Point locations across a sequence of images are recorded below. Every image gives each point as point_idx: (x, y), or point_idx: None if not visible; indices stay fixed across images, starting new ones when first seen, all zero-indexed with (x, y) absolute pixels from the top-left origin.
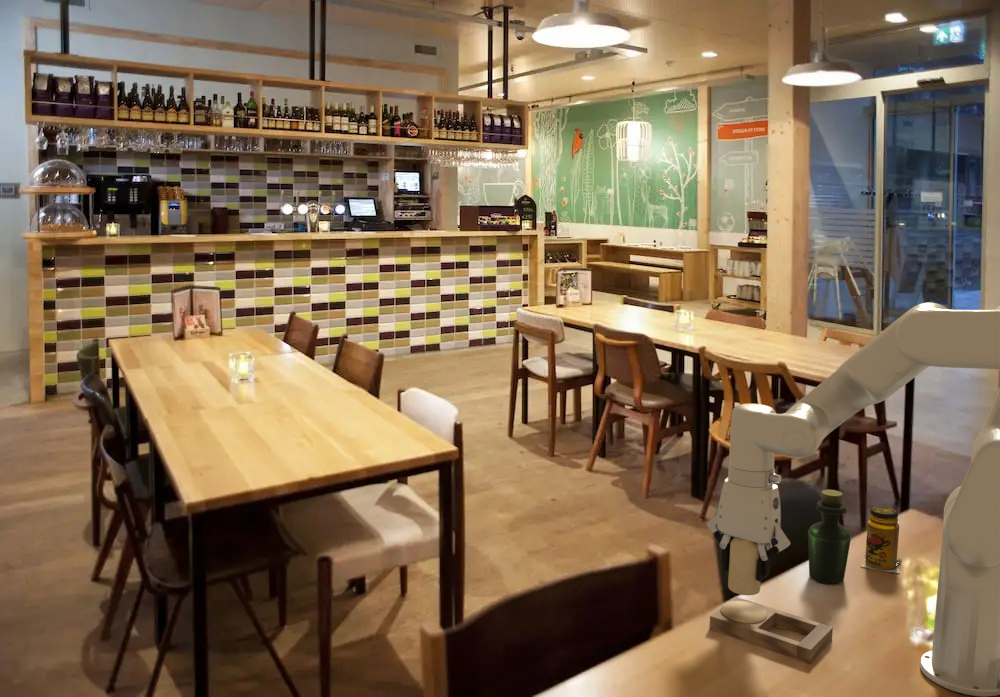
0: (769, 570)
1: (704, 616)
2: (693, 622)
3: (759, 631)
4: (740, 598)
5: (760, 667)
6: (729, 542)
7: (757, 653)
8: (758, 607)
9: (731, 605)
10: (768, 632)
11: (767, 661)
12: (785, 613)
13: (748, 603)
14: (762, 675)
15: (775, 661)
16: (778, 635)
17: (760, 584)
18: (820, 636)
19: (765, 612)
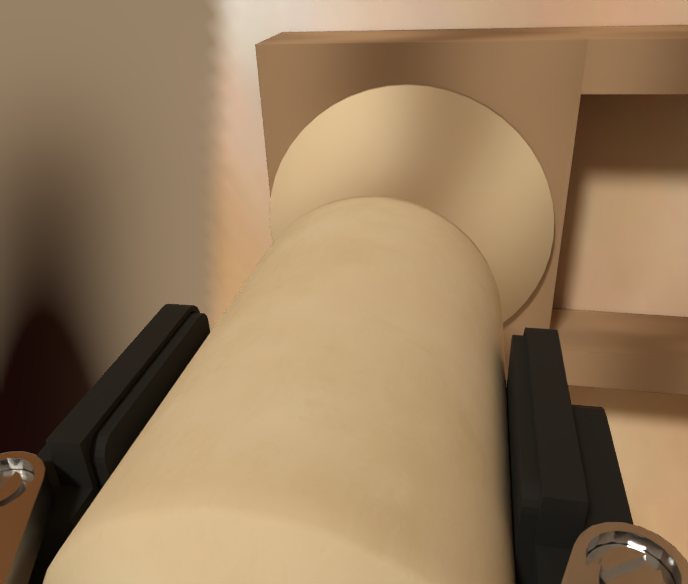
0: (606, 431)
1: (217, 223)
2: (219, 306)
3: (571, 377)
4: (295, 48)
5: (631, 484)
6: (43, 572)
7: (582, 397)
8: (460, 124)
9: (313, 207)
10: (619, 361)
11: (645, 433)
12: (653, 57)
13: (380, 110)
14: (656, 527)
15: (680, 417)
16: (682, 362)
17: (498, 307)
18: None
19: (528, 165)
